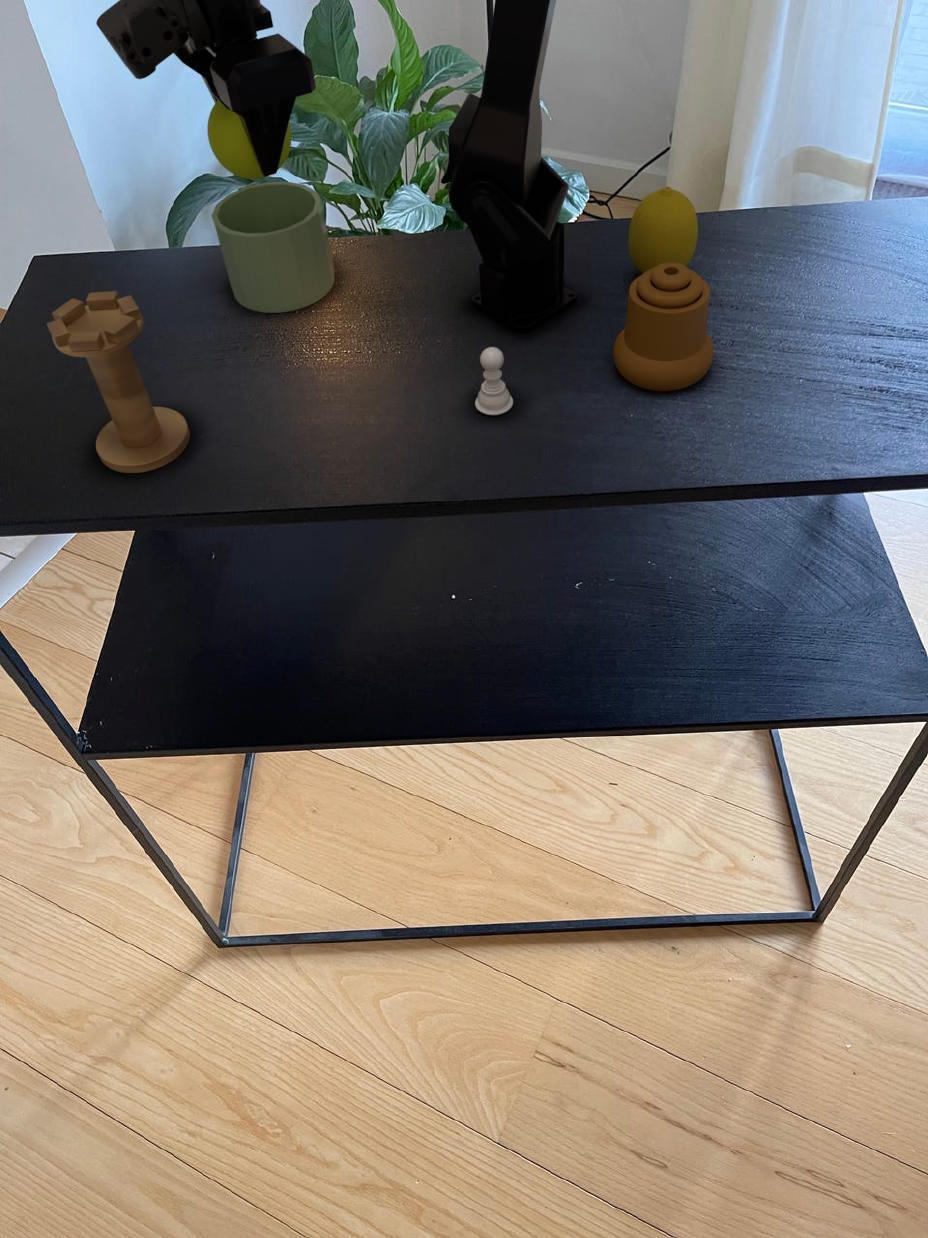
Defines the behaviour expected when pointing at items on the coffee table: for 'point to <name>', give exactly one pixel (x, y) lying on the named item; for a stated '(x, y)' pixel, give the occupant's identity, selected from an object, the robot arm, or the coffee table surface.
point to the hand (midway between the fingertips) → (255, 158)
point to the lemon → (663, 230)
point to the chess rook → (119, 382)
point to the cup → (275, 246)
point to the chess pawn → (493, 384)
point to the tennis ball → (236, 143)
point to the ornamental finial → (665, 330)
